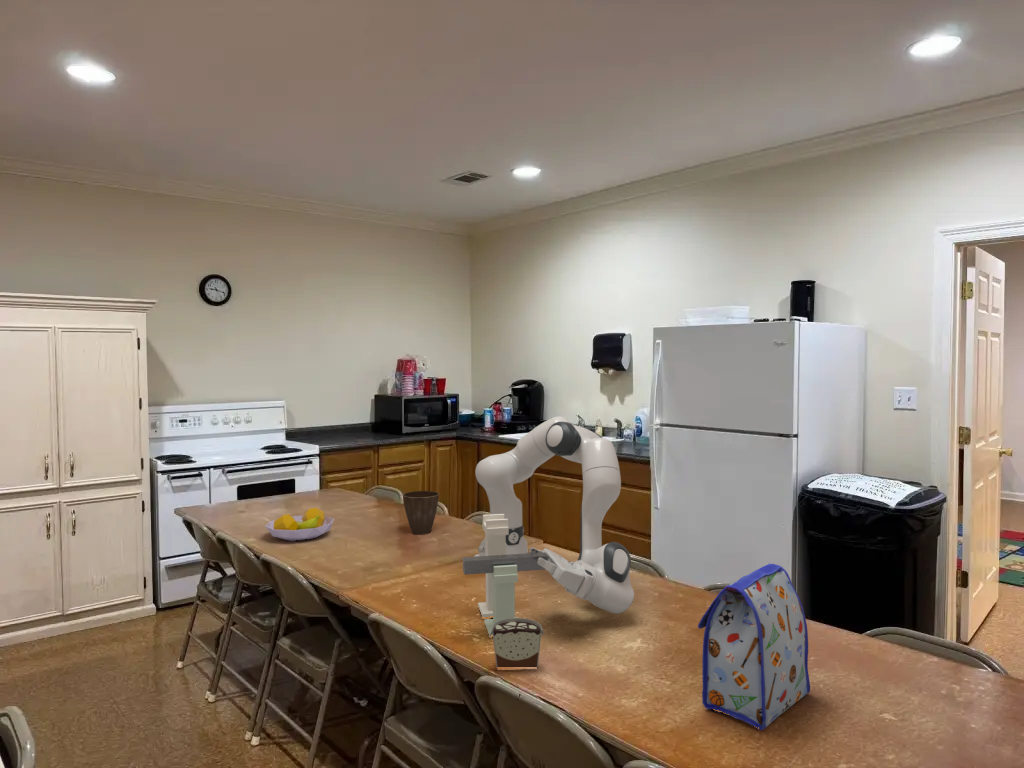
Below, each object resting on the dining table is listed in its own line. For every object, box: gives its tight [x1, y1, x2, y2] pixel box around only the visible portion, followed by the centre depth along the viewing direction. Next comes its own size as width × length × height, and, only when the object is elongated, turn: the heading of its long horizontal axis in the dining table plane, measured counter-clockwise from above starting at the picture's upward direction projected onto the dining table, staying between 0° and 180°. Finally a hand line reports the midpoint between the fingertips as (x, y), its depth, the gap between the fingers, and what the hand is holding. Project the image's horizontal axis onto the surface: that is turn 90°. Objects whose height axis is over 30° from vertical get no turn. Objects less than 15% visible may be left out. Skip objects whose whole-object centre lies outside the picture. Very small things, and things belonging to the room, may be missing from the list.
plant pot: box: [402, 490, 440, 535], centre depth 282 cm, size 15×15×16 cm
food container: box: [490, 617, 545, 668], centre depth 158 cm, size 12×6×10 cm, turn 92°
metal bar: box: [462, 552, 548, 576], centre depth 178 cm, size 22×4×4 cm, turn 100°
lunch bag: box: [697, 563, 811, 731], centre depth 141 cm, size 23×17×27 cm
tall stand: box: [477, 513, 509, 618], centre depth 191 cm, size 9×9×27 cm
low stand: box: [483, 565, 519, 637], centre depth 178 cm, size 9×9×18 cm
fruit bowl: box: [265, 506, 335, 542], centre depth 276 cm, size 28×27×11 cm
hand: (534, 555), depth 179 cm, fingers open, 8 cm apart
